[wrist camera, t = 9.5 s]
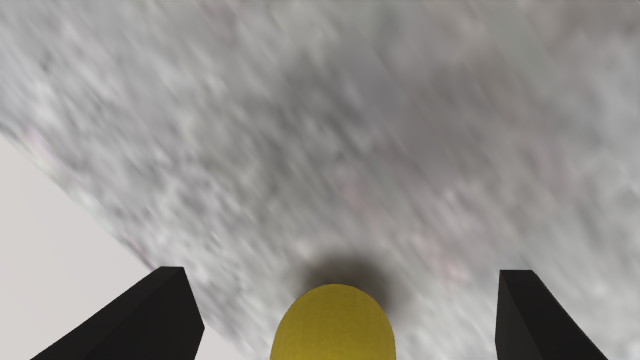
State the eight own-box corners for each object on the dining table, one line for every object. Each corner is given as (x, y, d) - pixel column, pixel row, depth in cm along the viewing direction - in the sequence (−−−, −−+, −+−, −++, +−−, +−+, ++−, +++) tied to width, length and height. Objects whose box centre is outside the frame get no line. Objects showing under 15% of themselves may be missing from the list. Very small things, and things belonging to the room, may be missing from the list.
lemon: (272, 286, 24) (217, 429, 17) (343, 232, 21) (312, 375, 15) (345, 345, 25) (321, 500, 18) (421, 300, 23) (425, 461, 16)
